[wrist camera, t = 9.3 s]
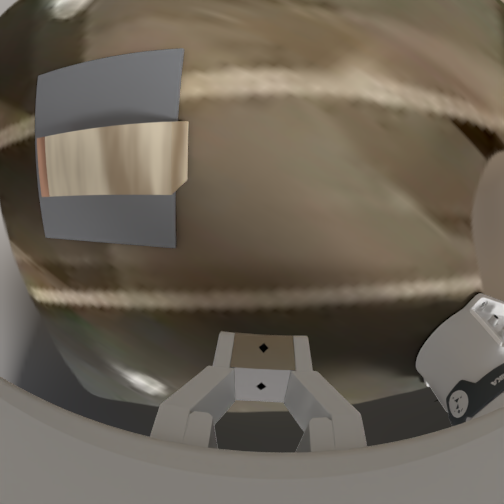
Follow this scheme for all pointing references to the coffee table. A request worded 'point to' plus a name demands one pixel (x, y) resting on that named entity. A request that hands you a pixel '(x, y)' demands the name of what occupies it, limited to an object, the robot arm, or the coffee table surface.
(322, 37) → the coffee table surface
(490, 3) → the coffee table surface
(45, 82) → the rubber mat
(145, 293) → the coffee table surface
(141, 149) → the birch block
